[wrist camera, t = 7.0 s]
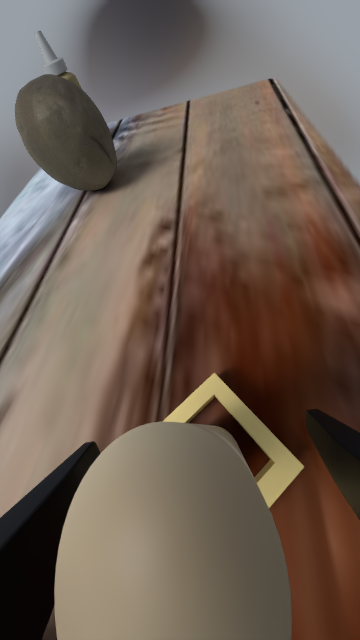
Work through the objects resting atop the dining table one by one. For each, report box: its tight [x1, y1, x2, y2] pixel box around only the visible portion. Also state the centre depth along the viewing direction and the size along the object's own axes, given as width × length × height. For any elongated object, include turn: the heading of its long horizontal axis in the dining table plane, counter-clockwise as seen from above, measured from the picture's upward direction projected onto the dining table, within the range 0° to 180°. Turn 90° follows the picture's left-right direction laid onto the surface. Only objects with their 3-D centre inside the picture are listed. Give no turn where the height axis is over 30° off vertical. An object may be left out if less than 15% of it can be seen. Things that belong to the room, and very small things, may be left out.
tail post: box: [54, 422, 292, 640], centre depth 9 cm, size 4×4×14 cm
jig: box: [163, 373, 304, 508], centre depth 11 cm, size 16×23×2 cm
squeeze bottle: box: [35, 31, 82, 89], centre depth 45 cm, size 8×8×18 cm
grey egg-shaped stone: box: [15, 74, 117, 191], centre depth 34 cm, size 14×14×15 cm
